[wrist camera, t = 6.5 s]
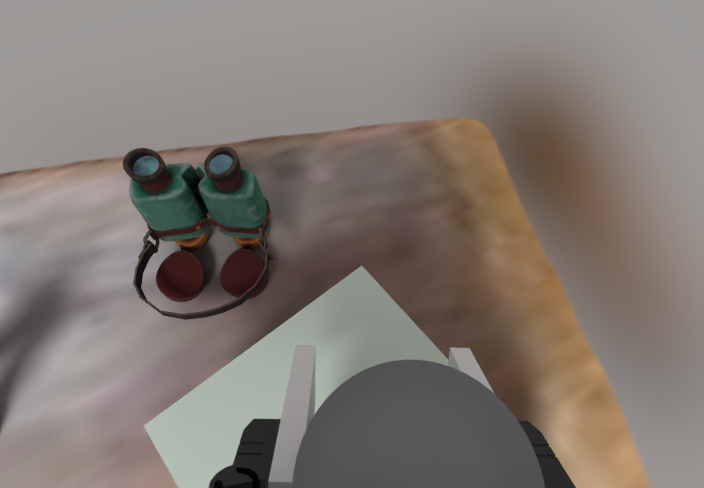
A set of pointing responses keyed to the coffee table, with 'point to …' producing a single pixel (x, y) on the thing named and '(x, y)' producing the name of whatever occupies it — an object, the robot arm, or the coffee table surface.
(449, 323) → the coffee table surface
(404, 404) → the lid
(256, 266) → the binoculars
